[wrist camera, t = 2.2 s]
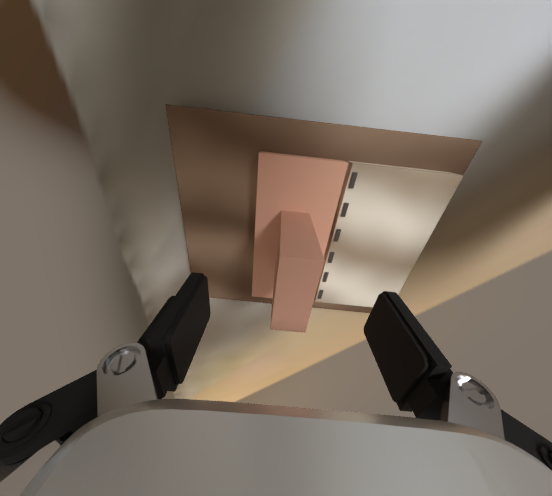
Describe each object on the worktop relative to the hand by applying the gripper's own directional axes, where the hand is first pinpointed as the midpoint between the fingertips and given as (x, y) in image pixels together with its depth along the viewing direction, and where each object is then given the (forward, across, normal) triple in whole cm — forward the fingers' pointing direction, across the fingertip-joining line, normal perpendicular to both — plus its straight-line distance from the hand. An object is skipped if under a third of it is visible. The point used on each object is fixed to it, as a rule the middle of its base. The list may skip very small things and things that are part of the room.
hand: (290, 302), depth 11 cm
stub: (+7, 0, -1) cm, 7 cm away
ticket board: (+8, -1, -1) cm, 8 cm away
